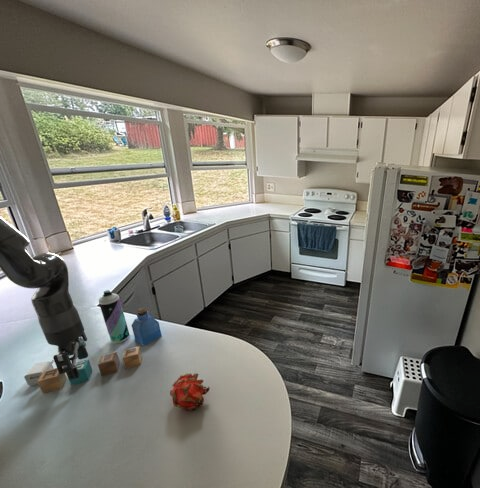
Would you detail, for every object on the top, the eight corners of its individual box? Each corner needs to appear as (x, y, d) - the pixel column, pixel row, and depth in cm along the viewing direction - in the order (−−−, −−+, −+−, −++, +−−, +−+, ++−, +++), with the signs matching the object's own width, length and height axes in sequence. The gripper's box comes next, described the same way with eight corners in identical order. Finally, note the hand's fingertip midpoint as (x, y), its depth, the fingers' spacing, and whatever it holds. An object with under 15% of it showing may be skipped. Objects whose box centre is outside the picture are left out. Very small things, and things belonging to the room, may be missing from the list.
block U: (101, 376, 77) (97, 364, 76) (104, 367, 80) (100, 355, 79) (117, 371, 79) (114, 360, 78) (120, 362, 82) (116, 351, 81)
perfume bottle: (161, 335, 95) (155, 309, 91) (143, 345, 90) (136, 317, 86) (153, 329, 98) (146, 303, 94) (135, 339, 93) (127, 311, 89)
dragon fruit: (182, 391, 75) (205, 418, 69) (155, 397, 68) (177, 428, 62) (197, 364, 76) (220, 389, 70) (172, 367, 69) (196, 395, 63)
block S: (71, 385, 74) (66, 373, 72) (75, 375, 77) (71, 363, 76) (88, 380, 76) (84, 368, 74) (92, 370, 79) (88, 359, 78)
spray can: (107, 341, 91) (91, 294, 84) (122, 332, 96) (108, 286, 89) (119, 344, 90) (104, 296, 83) (133, 334, 95) (120, 288, 88)
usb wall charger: (28, 385, 73) (23, 375, 72) (42, 368, 79) (38, 358, 78) (46, 381, 75) (41, 371, 73) (59, 364, 81) (55, 355, 79)
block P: (125, 369, 80) (122, 357, 78) (127, 360, 83) (124, 349, 82) (140, 364, 82) (137, 353, 80) (142, 356, 85) (139, 345, 84)
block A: (42, 393, 71) (37, 381, 70) (48, 382, 74) (43, 371, 73) (61, 387, 73) (56, 376, 71) (66, 377, 76) (62, 366, 75)
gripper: (53, 313, 74) (71, 356, 79) (30, 343, 62) (52, 391, 68) (86, 306, 77) (101, 348, 83) (70, 334, 66) (88, 380, 71)
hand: (79, 367), depth 75 cm, fingers open, 8 cm apart
